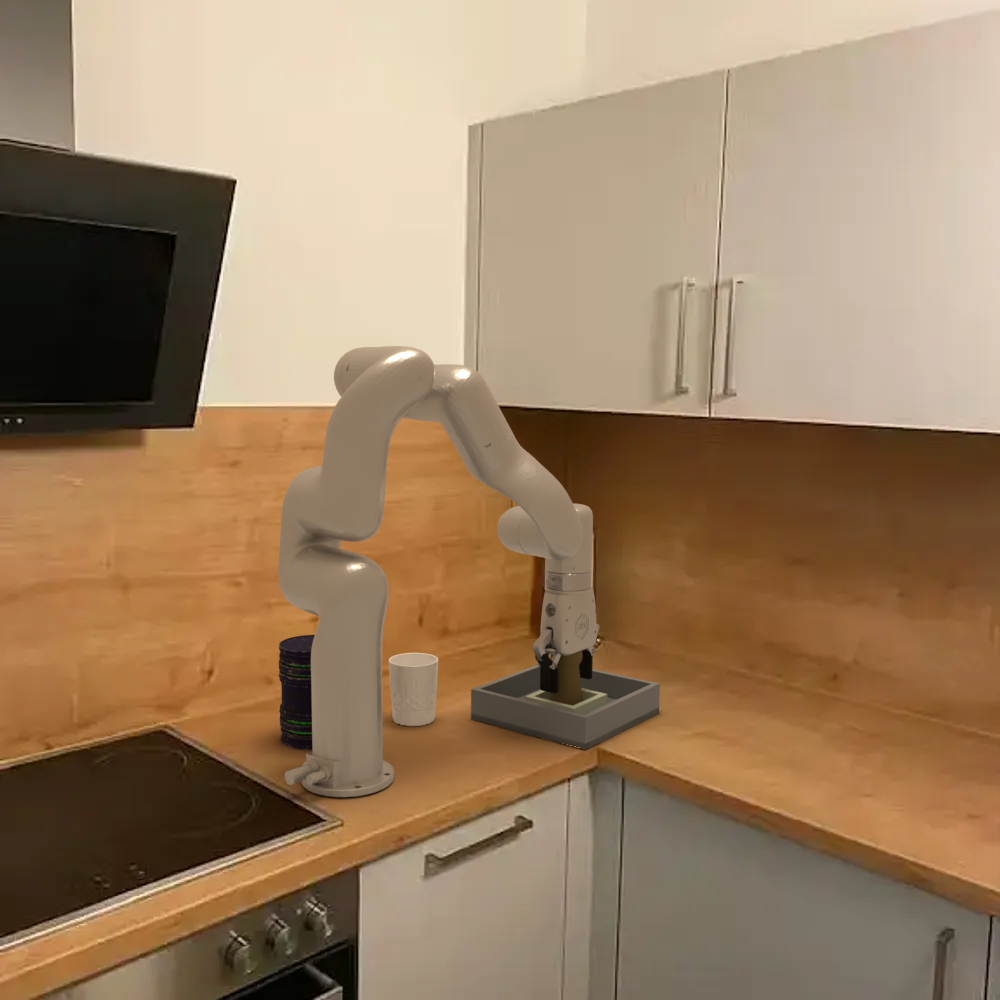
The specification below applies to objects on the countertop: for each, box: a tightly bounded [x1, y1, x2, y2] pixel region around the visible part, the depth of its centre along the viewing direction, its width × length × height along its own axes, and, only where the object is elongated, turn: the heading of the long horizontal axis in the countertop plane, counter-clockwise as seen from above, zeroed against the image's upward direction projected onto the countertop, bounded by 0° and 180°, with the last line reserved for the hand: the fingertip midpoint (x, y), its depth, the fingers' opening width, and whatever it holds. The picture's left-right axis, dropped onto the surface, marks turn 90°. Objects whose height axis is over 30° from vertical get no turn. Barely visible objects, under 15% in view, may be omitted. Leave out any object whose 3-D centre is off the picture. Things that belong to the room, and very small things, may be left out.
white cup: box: [388, 652, 439, 727], centre depth 167 cm, size 8×8×10 cm
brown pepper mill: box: [549, 648, 583, 706], centre depth 169 cm, size 6×6×11 cm
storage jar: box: [278, 634, 315, 751], centre depth 158 cm, size 10×10×15 cm
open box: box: [470, 664, 661, 751], centre depth 170 cm, size 22×22×5 cm
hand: (566, 684), depth 169 cm, fingers open, 9 cm apart
